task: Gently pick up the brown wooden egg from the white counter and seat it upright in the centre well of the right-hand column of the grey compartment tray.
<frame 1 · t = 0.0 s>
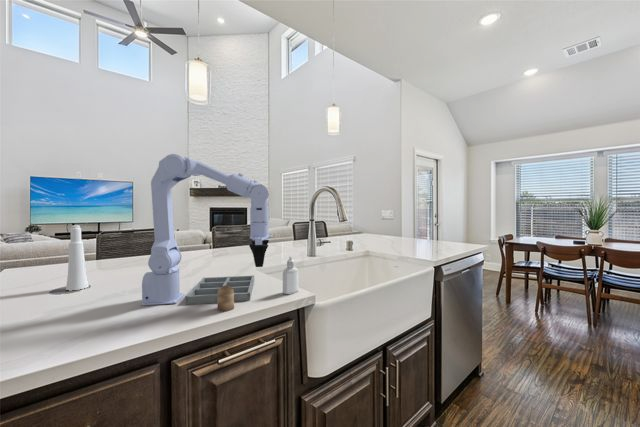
hand: (259, 264, 88), 10 cm above the counter, fingers open, 7 cm apart
eye dropper bottle: (290, 293, 91), on the counter
grey compartment tray: (224, 291, 92), on the counter
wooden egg: (225, 308, 77), on the counter
cosmetic bottle: (77, 288, 95), on the counter
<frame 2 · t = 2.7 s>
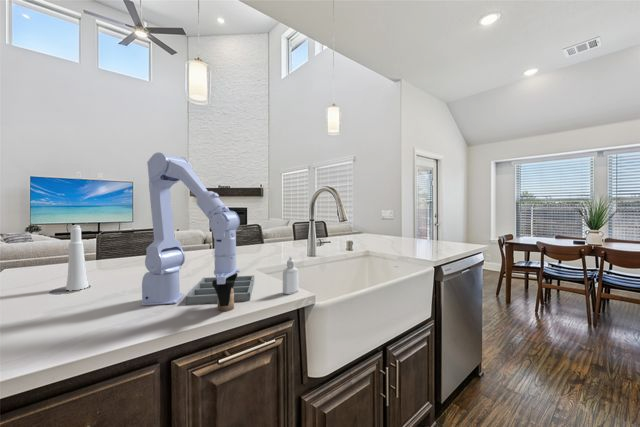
hand: (225, 302, 77), 2 cm above the counter, fingers closed on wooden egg, 4 cm apart
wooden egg: (225, 308, 77), on the counter, touching gripper
everything else where it was.
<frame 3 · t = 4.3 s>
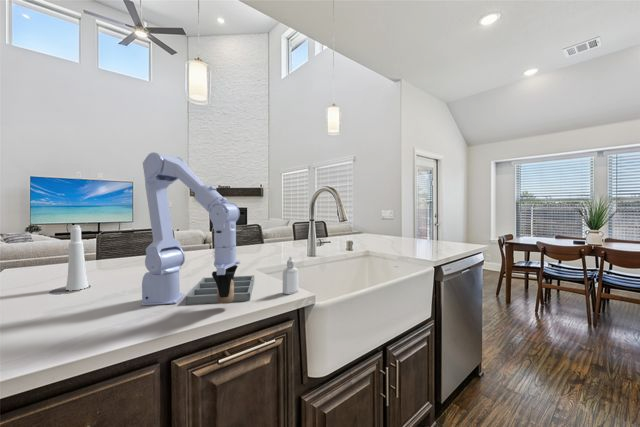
hand: (225, 294, 77), 4 cm above the counter, fingers closed on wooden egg, 4 cm apart
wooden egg: (225, 300, 77), point 2 cm above the counter, touching gripper
everything else where it was.
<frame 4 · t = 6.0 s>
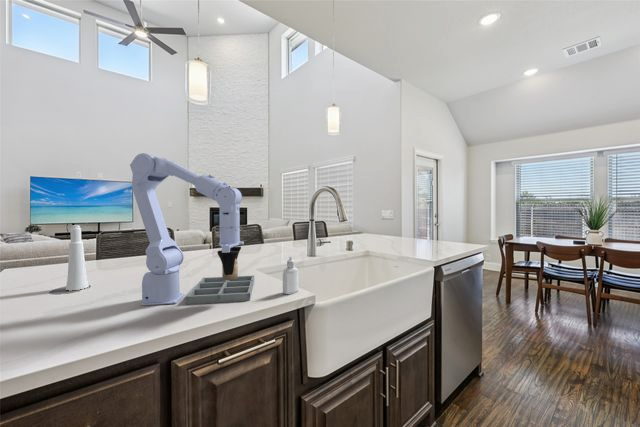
hand: (230, 272, 82), 9 cm above the counter, fingers closed on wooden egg, 4 cm apart
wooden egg: (230, 278, 82), point 7 cm above the counter, touching gripper
everything else where it was.
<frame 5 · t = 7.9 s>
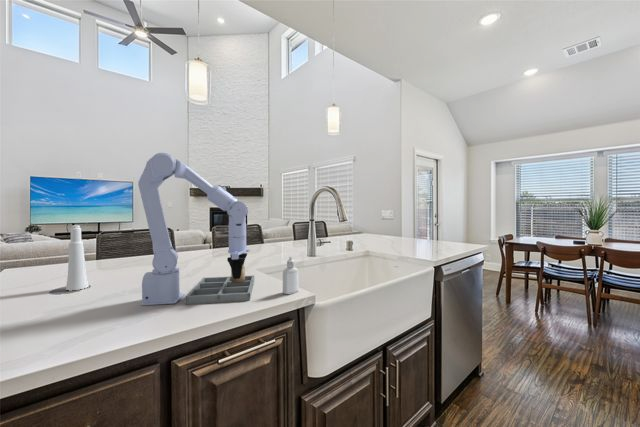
hand: (237, 276, 93), 5 cm above the counter, fingers closed on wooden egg, 4 cm apart
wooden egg: (238, 281, 93), point 3 cm above the counter, touching gripper
everything else where it was.
when the fingers open (4 cm above the counter, at t = 9.4 s): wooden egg drops 1 cm, resting on grey compartment tray.
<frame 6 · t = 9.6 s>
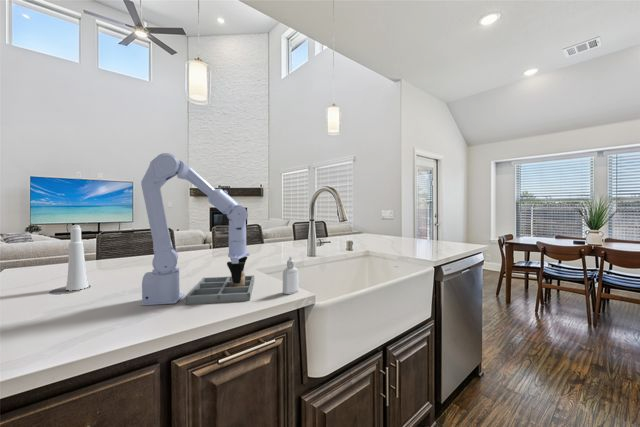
hand: (237, 280, 93), 4 cm above the counter, fingers open, 6 cm apart
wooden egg: (238, 288, 93), point 1 cm above the counter, touching grey compartment tray
everything else where it was.
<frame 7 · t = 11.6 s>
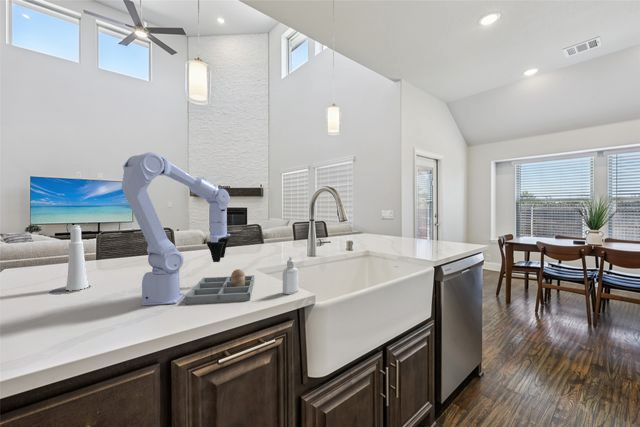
hand: (218, 259, 98), 9 cm above the counter, fingers open, 7 cm apart
nothing on the counter moved.
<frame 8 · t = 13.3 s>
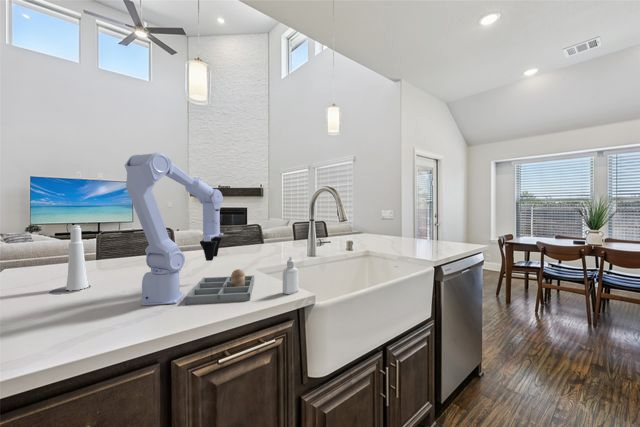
hand: (211, 258, 100), 9 cm above the counter, fingers open, 7 cm apart
nothing on the counter moved.
at the end: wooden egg 0.1 cm from the target spot on the grey compartment tray, point 0.6 cm above the grey compartment tray's base; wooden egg tilted 0°; the gripper is holding nothing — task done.
